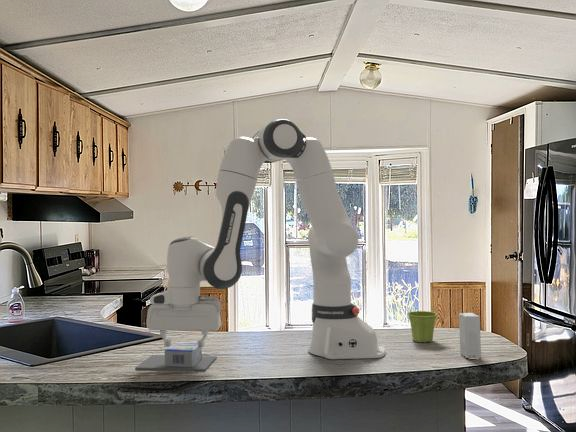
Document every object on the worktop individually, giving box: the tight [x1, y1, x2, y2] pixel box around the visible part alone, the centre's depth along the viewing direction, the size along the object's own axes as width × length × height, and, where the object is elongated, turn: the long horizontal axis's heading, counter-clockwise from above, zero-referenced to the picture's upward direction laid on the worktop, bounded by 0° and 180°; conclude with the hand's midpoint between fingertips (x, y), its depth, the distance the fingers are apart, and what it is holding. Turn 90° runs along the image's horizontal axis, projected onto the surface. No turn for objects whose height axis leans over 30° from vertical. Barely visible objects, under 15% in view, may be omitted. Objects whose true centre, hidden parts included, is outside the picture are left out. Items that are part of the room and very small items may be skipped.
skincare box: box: [458, 312, 482, 359], centre depth 165 cm, size 6×4×12 cm
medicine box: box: [164, 342, 203, 367], centre depth 159 cm, size 8×4×9 cm
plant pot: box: [406, 310, 438, 343], centre depth 185 cm, size 9×9×9 cm
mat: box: [134, 354, 218, 372], centre depth 160 cm, size 19×13×1 cm
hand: (184, 346), depth 159 cm, fingers open, 8 cm apart
